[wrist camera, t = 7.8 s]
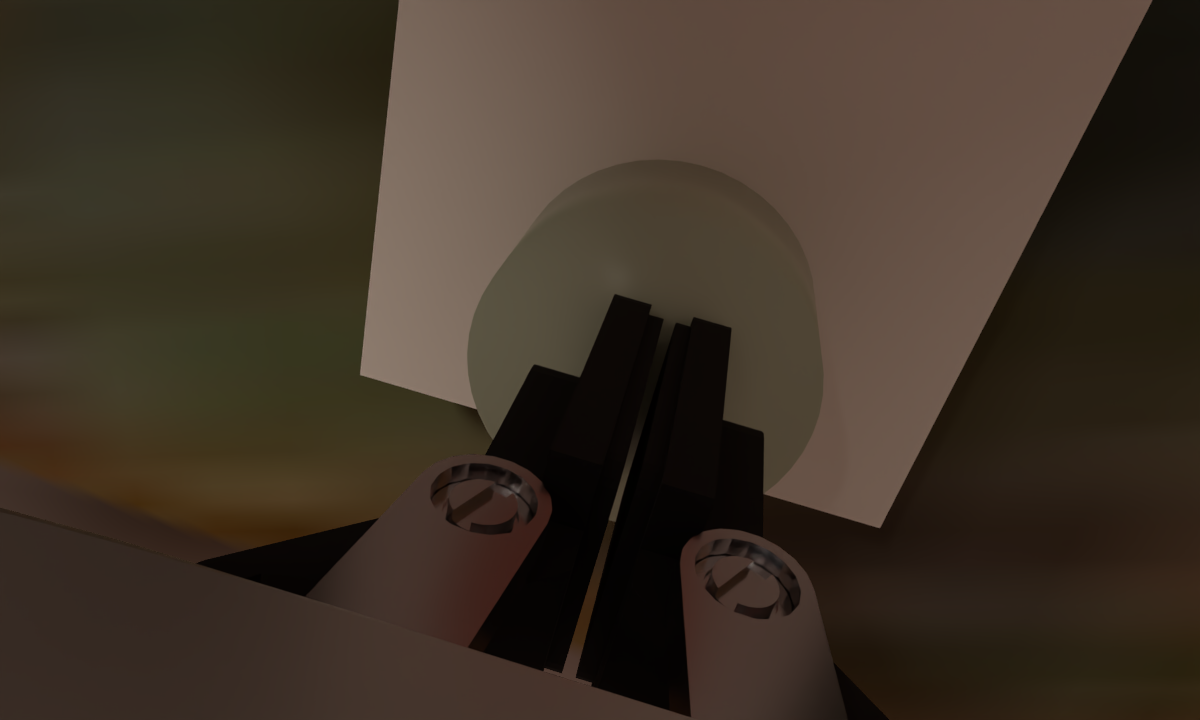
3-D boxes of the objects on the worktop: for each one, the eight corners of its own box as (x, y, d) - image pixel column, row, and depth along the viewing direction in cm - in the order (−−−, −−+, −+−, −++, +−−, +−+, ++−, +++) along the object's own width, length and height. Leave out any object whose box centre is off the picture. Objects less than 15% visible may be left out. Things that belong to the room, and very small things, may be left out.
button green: (543, 121, 13) (498, 164, 11) (863, 211, 13) (882, 273, 11) (490, 391, 16) (445, 471, 13) (758, 470, 15) (756, 564, 13)
